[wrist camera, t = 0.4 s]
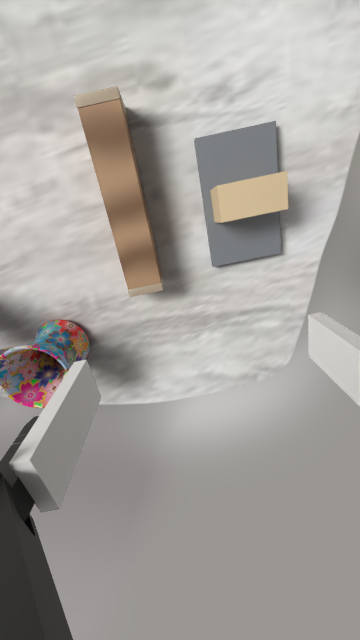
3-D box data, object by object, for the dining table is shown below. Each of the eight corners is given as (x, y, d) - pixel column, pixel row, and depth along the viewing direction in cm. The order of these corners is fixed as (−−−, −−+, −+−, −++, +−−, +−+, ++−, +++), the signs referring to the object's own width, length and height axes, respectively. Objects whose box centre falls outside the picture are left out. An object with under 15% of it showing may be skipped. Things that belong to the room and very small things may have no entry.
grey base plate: (194, 141, 32) (199, 124, 26) (272, 124, 32) (294, 103, 26) (212, 265, 38) (219, 273, 32) (277, 252, 38) (297, 258, 32)
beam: (88, 114, 31) (73, 95, 26) (124, 106, 31) (117, 86, 26) (134, 287, 39) (129, 296, 34) (163, 281, 39) (163, 290, 34)
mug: (97, 321, 41) (74, 354, 31) (90, 370, 44) (68, 413, 34) (18, 306, 39) (-32, 335, 29) (18, 357, 42) (-28, 398, 33)
